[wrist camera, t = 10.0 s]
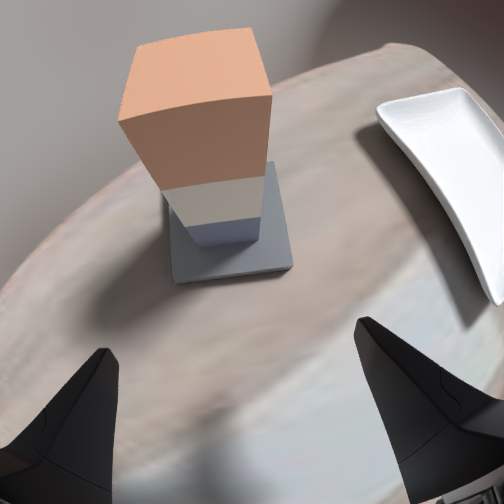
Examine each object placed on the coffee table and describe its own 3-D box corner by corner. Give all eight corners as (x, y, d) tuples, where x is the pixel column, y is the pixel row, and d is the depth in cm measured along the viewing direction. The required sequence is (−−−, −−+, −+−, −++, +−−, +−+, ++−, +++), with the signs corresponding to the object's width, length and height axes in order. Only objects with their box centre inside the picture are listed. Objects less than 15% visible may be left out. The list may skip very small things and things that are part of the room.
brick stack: (258, 240, 18) (272, 95, 6) (199, 247, 18) (117, 121, 6) (250, 186, 19) (251, 27, 7) (195, 194, 19) (137, 46, 7)
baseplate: (290, 268, 19) (293, 265, 18) (177, 283, 19) (172, 281, 17) (272, 169, 21) (273, 161, 20) (172, 183, 21) (168, 175, 19)
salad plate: (453, 98, 25) (463, 84, 22) (533, 223, 21) (548, 215, 17) (358, 126, 23) (370, 103, 19) (473, 316, 18) (498, 312, 15)
